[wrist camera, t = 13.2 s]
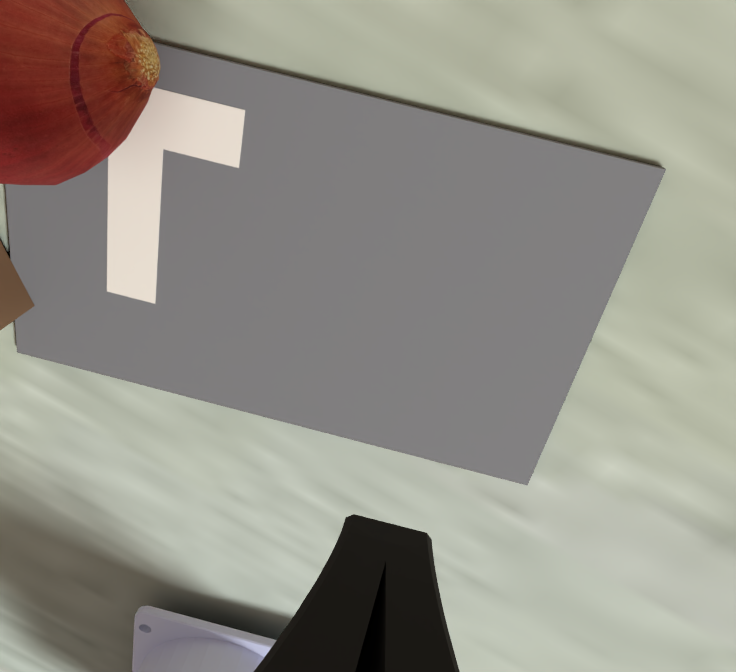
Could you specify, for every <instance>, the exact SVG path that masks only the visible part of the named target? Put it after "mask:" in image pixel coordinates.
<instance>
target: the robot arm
mask: <svg viewBox="0 0 736 672" xmlns="http://www.w3.org/2000/svg"><path fill="white" fill-rule="evenodd" d="M132 672H459V669H458V665H457V661H456V658H455V654H454V650H453V647H452V643H451V639H450V636H449V632H448V628H447V624H446V620H445V616H444V612H443V607H442V602H441V598H440V593H439V588H438V583H437V577H436V572H435V566H434V558H433V551H432V540H431V538H430V537H429V535H428V534H427V533H425V532H421V531H417V530H413V529H409V528H405V527H401V526H398V525H394V524H390V523H386V522H382V521H378V520H374V519H370V518H366V517H362V516H358V515H351V516H349V517H346V519H345V522H344V525H343V528H342V531H341V534H340V536H339V538H338V541H337V543H336V545H335V547H334V549H333V551H332V553H331V555H330V557H329V559H328V561H327V563H326V565H325V566H324V568H323V570H322V572H321V574H320V575H319V577H318V579H317V581H316V582H315V584H314V585H313V587H312V589H311V590H310V592H309V593H308V595H307V596H306V598H305V600H304V601H303V603H302V604H301V606H300V608H299V609H298V611H297V612H296V614H295V615H294V617H293V618H292V620H291V621H290V623H289V624H288V626H287V627H286V628H285V630H284V631H283V632H282V634H281V635H280V637H279V638H278V639H277V640H274V639H271V638H267V637H263V636H260V635H256V634H252V633H248V632H245V631H241V630H237V629H234V628H230V627H226V626H223V625H219V624H215V623H211V622H208V621H204V620H200V619H197V618H193V617H189V616H185V615H182V614H178V613H174V612H171V611H167V610H163V609H160V608H156V607H152V606H147V605H146V606H141V607H140V608H139V609H138V610H137V612H136V614H135V617H134V638H133V660H132Z"/></svg>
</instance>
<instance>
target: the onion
mask: <svg viewBox="0 0 736 672" xmlns="http://www.w3.org/2000/svg"><path fill="white" fill-rule="evenodd" d="M160 69H161V67H160V59H159V55H158V52H157V49H156V47H155V45H154V43H153V41H152V40H151V38H150V36H149V35H148V34H147V33H146V31H145V30H144V29H143V28H142V27H141V25H140V24H139V22H138V21H137V19H136V18H135V16H134V15H133V13H132V12H131V10H130V8H129V7H128V5H127V4H126V2H125V1H124V0H0V184H13V185H57V184H60V183H62V182H64V181H67V180H69V179H71V178H74V177H76V176H78V175H81V174H83V173H85V172H87V171H88V170H90V169H91V168H92V167H94V166H95V165H97V164H98V163H100V162H101V161H103V160H104V159H106V158H107V157H108V156H109V155H110V154H111V153H112V152H113V151H114V150H116V149H117V148H118V147H119V146H120V145H121V144H122V143H123V142H124V141H125V140H126V139H127V137H128V135H129V134H130V132H131V130H132V128H133V127H134V125H135V123H136V122H137V120H138V118H139V117H140V115H141V113H142V111H143V110H144V108H145V106H146V105H147V103H148V100H149V97H150V95H151V92H152V89H153V88H154V86H155V85H156V83H157V81H158V80H159V73H160Z"/></svg>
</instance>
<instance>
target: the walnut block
mask: <svg viewBox="0 0 736 672" xmlns="http://www.w3.org/2000/svg"><path fill="white" fill-rule="evenodd" d="M34 306H35V305H34V303H33V302H32V300H31V298H30V296H29V294H28V292H27V290H26V288H25V286H24V284H23V283H22V281H21V279H20V277H19V275H18V273H17V271H16V269H15V267H14V266H13V264H12V262H11V260H10V258H9V256H8V254H7V252H6V250H5V248H4V247H3V245H2V243H1V241H0V330H1V329H3V328H4V327H6V326H7V325H8V324H10V323H11V322H13V321H14V320H15V319H17V318H18V317H20V316H21V315H22V314H24V313H25V312H27V311H28V310H30V309H31V308H32V307H34Z"/></svg>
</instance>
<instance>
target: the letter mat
mask: <svg viewBox="0 0 736 672" xmlns="http://www.w3.org/2000/svg"><path fill="white" fill-rule="evenodd" d="M153 43H154V45H155V47H156V49H157V52H158V55H159V59H160V67H161V69H160V73H159V80H158V81H157V83H156V85H155V86H154V88H153V89H152V92H151V95H150V97H149V100H148V103H147V105H146V106H145V108H144V110H143V111H142V113H141V115H140V117H139V118H138V120H137V122H136V123H135V125H134V127H133V128H132V130H131V132H130V134H129V135H128V137H127V139H126V140H125V141H124V142H123V143H122V144H121V145H120V146H119V147H118V148H117V149H116V150H114V151H113V152H112V153H111V154H110V155H109V156H108V157H107V158H106V159H104V160H103V161H101V162H100V163H98V164H97V165H95V166H94V167H92V168H91V169H90V170H88V171H87V172H85V173H83V174H81V175H78V176H76V177H74V178H71V179H69V180H67V181H64V182H62V183H60V184H57V185H13V184H5V187H6V201H7V216H8V230H9V244H10V258H11V262H12V264H13V266H14V267H15V269H16V271H17V273H18V275H19V277H20V279H21V281H22V283H23V284H24V286H25V288H26V290H27V292H28V294H29V296H30V298H31V300H32V302H33V303H34V305H35V306H34V307H32V308H31V309H30V310H28V311H27V312H25V313H24V314H22V315H21V316H20V317H18V318H17V319H15V329H16V343H17V352H18V353H22V354H26V355H30V356H33V357H37V358H41V359H45V360H49V361H53V362H56V363H60V364H64V365H68V366H72V367H76V368H79V369H83V370H87V371H91V372H95V373H99V374H102V375H106V376H110V377H114V378H118V379H122V380H125V381H129V382H133V383H137V384H141V385H145V386H148V387H152V388H156V389H160V390H164V391H168V392H171V393H175V394H179V395H183V396H187V397H191V398H194V399H198V400H202V401H206V402H210V403H214V404H217V405H221V406H225V407H229V408H233V409H237V410H240V411H244V412H248V413H252V414H256V415H260V416H263V417H267V418H271V419H275V420H279V421H283V422H286V423H290V424H294V425H298V426H302V427H306V428H309V429H313V430H317V431H321V432H325V433H329V434H332V435H336V436H340V437H344V438H348V439H352V440H355V441H359V442H363V443H367V444H371V445H375V446H378V447H382V448H386V449H390V450H394V451H398V452H401V453H405V454H409V455H413V456H417V457H421V458H424V459H428V460H432V461H436V462H440V463H444V464H447V465H451V466H455V467H459V468H463V469H467V470H470V471H474V472H478V473H482V474H486V475H490V476H493V477H497V478H501V479H505V480H509V481H513V482H516V483H520V484H524V485H528V483H529V480H530V478H531V476H532V474H533V471H534V469H535V467H536V464H537V462H538V460H539V458H540V455H541V453H542V451H543V448H544V446H545V444H546V442H547V439H548V437H549V435H550V433H551V430H552V428H553V426H554V423H555V421H556V419H557V417H558V414H559V412H560V410H561V407H562V405H563V403H564V401H565V398H566V396H567V394H568V392H569V389H570V387H571V385H572V382H573V380H574V378H575V376H576V373H577V371H578V369H579V366H580V364H581V362H582V360H583V357H584V355H585V353H586V350H587V348H588V346H589V344H590V341H591V339H592V337H593V335H594V332H595V330H596V328H597V325H598V323H599V321H600V319H601V316H602V314H603V312H604V309H605V307H606V305H607V303H608V300H609V298H610V296H611V294H612V291H613V289H614V287H615V284H616V282H617V280H618V278H619V275H620V273H621V271H622V268H623V266H624V264H625V262H626V259H627V257H628V255H629V253H630V250H631V248H632V246H633V243H634V241H635V239H636V237H637V234H638V232H639V230H640V227H641V225H642V223H643V221H644V218H645V216H646V214H647V211H648V209H649V207H650V205H651V202H652V200H653V198H654V196H655V193H656V191H657V189H658V186H659V184H660V182H661V180H662V177H663V175H664V173H665V170H666V169H665V168H663V167H659V166H655V165H651V164H647V163H643V162H639V161H635V160H630V159H626V158H622V157H618V156H614V155H610V154H606V153H602V152H598V151H594V150H590V149H586V148H582V147H578V146H574V145H570V144H566V143H562V142H558V141H553V140H549V139H545V138H541V137H537V136H533V135H529V134H525V133H521V132H517V131H513V130H509V129H505V128H501V127H497V126H493V125H489V124H485V123H480V122H476V121H472V120H468V119H464V118H460V117H456V116H452V115H448V114H444V113H440V112H436V111H432V110H428V109H424V108H420V107H416V106H412V105H408V104H403V103H399V102H395V101H391V100H387V99H383V98H379V97H375V96H371V95H367V94H363V93H359V92H355V91H351V90H347V89H343V88H339V87H335V86H330V85H326V84H322V83H318V82H314V81H310V80H306V79H302V78H298V77H294V76H290V75H286V74H282V73H278V72H274V71H270V70H266V69H262V68H258V67H253V66H249V65H245V64H241V63H237V62H233V61H229V60H225V59H221V58H217V57H213V56H209V55H205V54H201V53H197V52H193V51H189V50H185V49H181V48H176V47H172V46H168V45H164V44H160V43H156V42H153Z"/></svg>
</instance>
